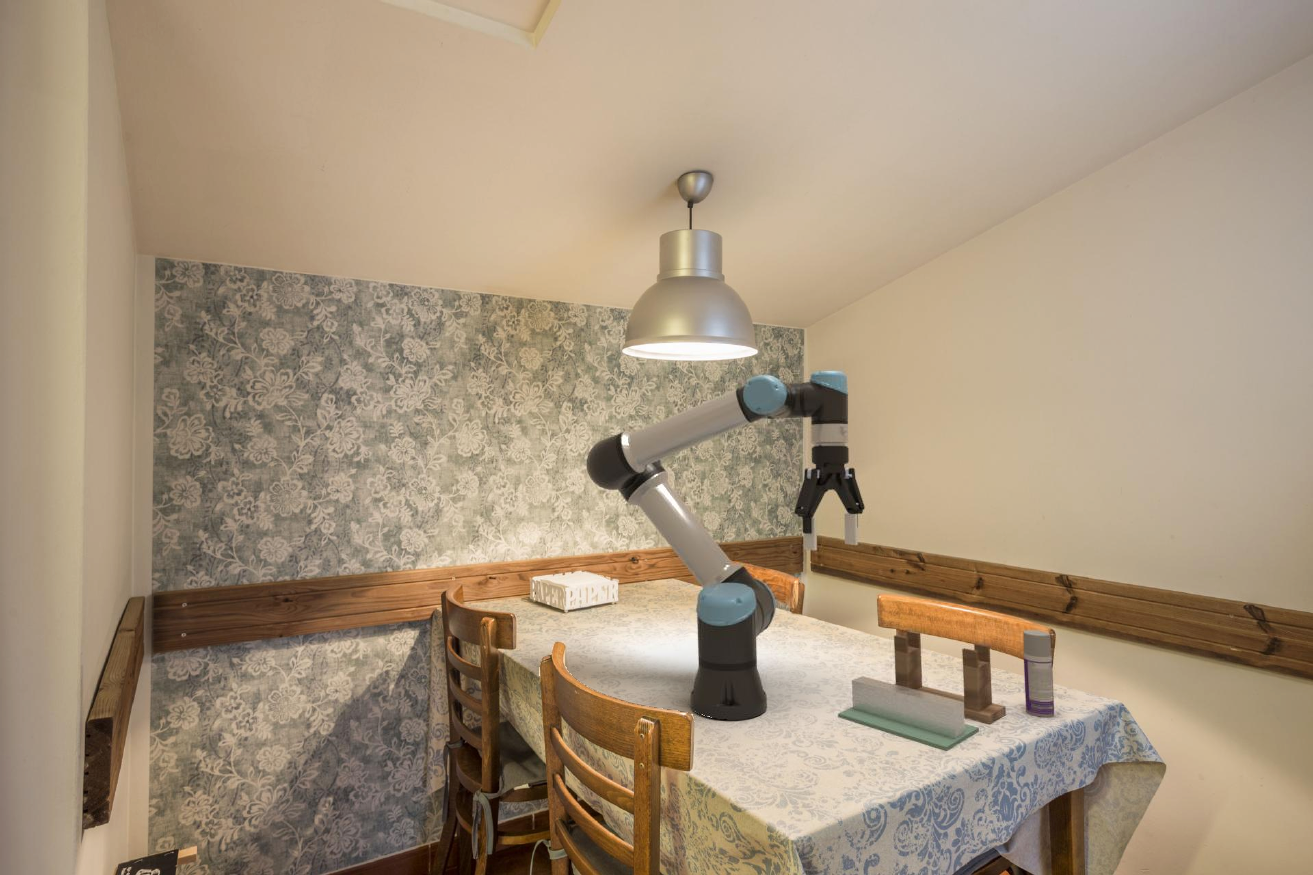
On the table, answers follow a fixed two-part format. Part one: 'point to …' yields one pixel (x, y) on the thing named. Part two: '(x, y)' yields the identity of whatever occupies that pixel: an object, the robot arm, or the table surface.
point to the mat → (906, 729)
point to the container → (1038, 673)
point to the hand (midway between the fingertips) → (831, 547)
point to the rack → (973, 677)
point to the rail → (909, 706)
